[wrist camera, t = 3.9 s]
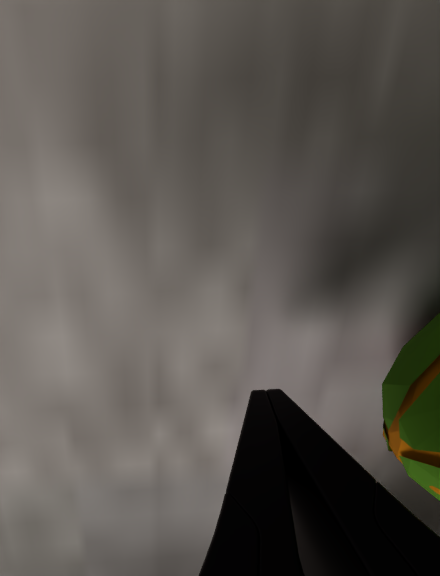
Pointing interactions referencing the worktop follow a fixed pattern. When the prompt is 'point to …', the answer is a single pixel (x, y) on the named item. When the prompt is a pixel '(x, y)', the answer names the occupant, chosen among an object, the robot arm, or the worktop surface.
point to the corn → (416, 407)
